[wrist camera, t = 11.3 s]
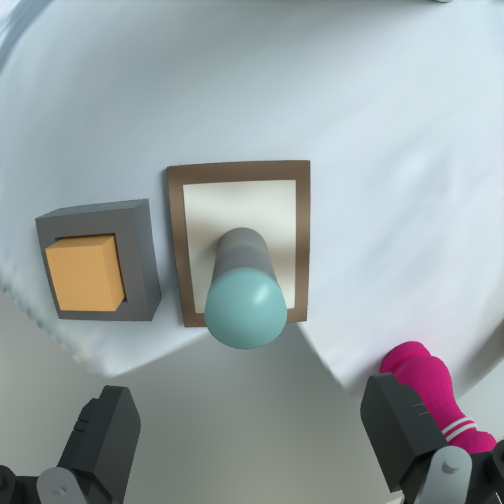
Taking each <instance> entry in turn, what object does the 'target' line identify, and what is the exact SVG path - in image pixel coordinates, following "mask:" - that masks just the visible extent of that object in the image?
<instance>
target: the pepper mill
mask: <svg viewBox="0 0 504 504" xmlns="http://www.w3.org/2000/svg"><path fill="white" fill-rule="evenodd" d="M388 372H391V373H393V374H394V376H395V377H396V379H397V380H398V382H399V384H400V385H401V384H407V385H408V386H410V387H411V388H412V389H414V390H415V391H416V392H417V393H418V395H419V396H420V398H421V399H422V401H423V404H424V405H425V406H426V407H427V409H428V410H429V413H430V414H431V415H432V417H433V419H434V420H435V422H436V423H437V425H438V427H439V428H440V430H441V432H442V433H443V435H444V437H445V438H446V440H447V442H448V443H449V444H450V446H456V447H459V448H462V449H463V450H465V451H466V452H467V453H468V454H473V453H481V452H487V451H492V449H493V448H494V447H495V445H496V444H497V442H496V440H495V439H494V437H493V436H492V435H491V434H489V433H487V432H480V431H478V429H479V428H478V425H477V424H476V423H475V422H474V419H473V418H472V417H466V416H465V415H464V414H463V413H462V412H461V411H460V409H459V407H458V406H457V404H456V402H455V399H454V396H453V389H452V382H451V377H450V374H449V371H448V369H447V367H446V366H445V364H444V363H443V361H442V360H440V359H439V358H437V357H435V356H431V355H430V353H429V352H428V350H427V349H426V348H425V347H424V346H423V345H422V344H421V343H419V342H407V343H404V344H402V345H399V346H398V347H396V348H395V349H393V350H392V351H391V352H390V353H389V354H388V355H387V356H386V358H385V359H384V361H383V363H382V365H381V368H380V374H383V373H388Z"/></svg>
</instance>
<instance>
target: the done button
mask: <svg viewBox="0 0 504 504" xmlns="http://www.w3.org/2000/svg"><path fill="white" fill-rule="evenodd" d="M45 250H46V255H47V260H48V264H49V268H50V273H51V277H52V281H53V284H54V288H55V292H56V296H57V299H58V303H59V306H60V309H61V310H75V311H116V309H117V308H118V306H119V305H120V303H121V302H122V300H123V299H124V297H125V296H126V293H125V288H124V283H123V278H122V272H121V267H120V261H119V255H118V249H117V243H116V236H115V233H106V234H93V235H81V236H69V237H64V238H62V239H61V240H59V241H57V242H56V243H54V244H53V245H51V246H49V247H48V248H46V249H45Z"/></svg>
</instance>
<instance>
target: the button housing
mask: <svg viewBox="0 0 504 504" xmlns="http://www.w3.org/2000/svg"><path fill="white" fill-rule="evenodd" d="M35 220H36V226H37V231H38V237H39V242H40V247H41V252H42V256H43V261H44V265H45V270H46V274H47V278H48V282H49V285H50V289H51V293H52V296H53V300H54V303H55V307H56V310H57V313H58V316H59V319H72V320H103V321H151V320H152V318H153V316H154V314H155V311H156V309H157V307H158V305H159V303H160V300H161V293H160V287H159V281H158V274H157V267H156V260H155V253H154V245H153V237H152V229H151V220H150V211H149V200H148V199H141V200H130V201H120V202H111V203H101V204H93V205H84V206H76V207H68V208H60V209H57V210H55V211H52V212H50V213H47V214H45V215H43V216H40V217H38V218H36V219H35ZM106 233H115V236H116V243H117V249H118V255H119V261H120V267H121V272H122V278H123V283H124V288H125V293H126V296H125V297H124V299H123V300H122V302H121V303H120V305H119V306H118V308H117V309H116V311H75V310H61V309H60V306H59V303H58V299H57V296H56V292H55V288H54V284H53V281H52V277H51V273H50V268H49V264H48V260H47V255H46V250H45V249H46V248H48V247H49V246H51V245H53V244H54V243H56V242H57V241H59V240H61V239H62V238H64V237H69V236H81V235H93V234H106Z"/></svg>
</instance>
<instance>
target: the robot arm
mask: <svg viewBox="0 0 504 504" xmlns="http://www.w3.org/2000/svg"><path fill="white" fill-rule="evenodd" d="M435 1H439V2H451V1H453V0H435ZM360 413H361V420H362V422H363V425H364V427H365V430H366V432H367V435H368V437H369V440H370V442H371V445H372V447H373V449H374V452H375V454H376V457H377V459H378V462H379V464H380V467H381V469H382V472H383V475H384V477H385V480H386V482H387V485H388V487H389V490H390V492H391V493H392V492H396V491H399V490H402V491H403V494H404V496H403V498H402V500H401V502H400V504H501V503H500V501H499V499H498V497H497V495H496V492H497V494H498V496H499V498H500V500H501V502H502V504H504V440H501V441H500V442H498V443H497V444H496V445H495V447H494V448H493V449H492V451H487V452H481V453H473V454H468V453H467V452H466V451H465V450H463V449H462V448H459V447H456V446H450V444H449V443H448V442H447V440H446V438H445V437H444V435H443V433H442V432H441V430H440V428H439V427H438V425H437V423H436V422H435V420H434V419H433V417H432V415H431V414H430V413H429V410H428V409H427V407H426V406H425V405H424V404H423V401H422V399H421V398H420V396H419V395H418V393H417V392H416V391H415V390H414V389H412V388H411V387H410V386H408V385H407V384H401V385H400V384H399V382H398V380H397V379H396V377H395V376H394V374H393V373H391V372H388V373H383V374H378V375H373V376H370V377H369V379H368V382H367V385H366V389H365V393H364V396H363V400H362V403H361V408H360ZM140 426H141V424H140V417H139V414H138V411H137V409H136V407H135V404H134V401H133V398H132V396H131V393H130V390H129V389H128V388H127V387H120V386H109V385H106V386H105V387H104V389H103V391H102V393H101V395H100V397H99V399H95V398H92V400H90V401H89V403H87V404H86V405H85V406H84V407H83V408H82V411H81V413H80V415H79V417H78V422H76V424H75V426H74V431H72V433H71V435H70V437H69V440H68V442H67V444H66V446H65V449H64V451H63V454H62V456H61V458H60V461H59V463H58V465H57V466H56V467H53V468H49V469H47V470H45V471H44V472H43V473H41V475H40V476H38V477H33V476H16V475H15V474H14V473H13V472H12V471H11V470H10V469H9V468H8V467H6V466H3V465H0V504H123V501H124V496H125V492H126V487H127V482H128V478H129V474H130V470H131V466H132V462H133V457H134V454H135V450H136V446H137V442H138V438H139V434H140V428H141V427H140Z"/></svg>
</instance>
